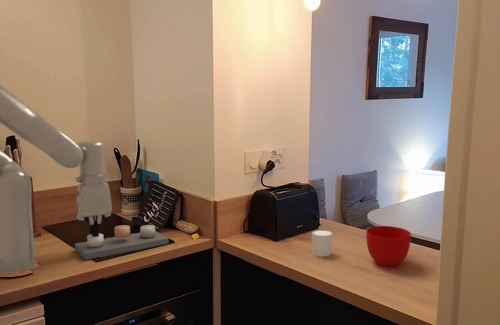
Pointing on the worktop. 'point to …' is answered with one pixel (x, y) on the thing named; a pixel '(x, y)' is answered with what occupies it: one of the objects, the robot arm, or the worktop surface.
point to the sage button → (147, 231)
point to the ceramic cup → (388, 244)
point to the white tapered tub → (322, 242)
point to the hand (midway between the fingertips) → (94, 235)
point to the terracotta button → (122, 231)
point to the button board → (120, 245)
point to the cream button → (95, 240)
